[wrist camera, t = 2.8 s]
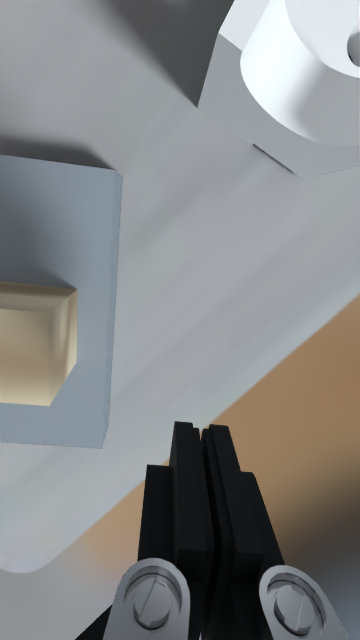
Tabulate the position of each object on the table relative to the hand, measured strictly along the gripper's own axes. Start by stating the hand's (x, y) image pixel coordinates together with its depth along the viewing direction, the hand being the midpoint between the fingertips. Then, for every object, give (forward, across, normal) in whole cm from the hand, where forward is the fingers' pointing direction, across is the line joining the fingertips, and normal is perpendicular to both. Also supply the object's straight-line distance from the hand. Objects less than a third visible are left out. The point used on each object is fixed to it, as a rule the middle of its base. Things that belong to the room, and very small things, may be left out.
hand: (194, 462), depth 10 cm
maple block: (+9, +8, -1) cm, 12 cm away
